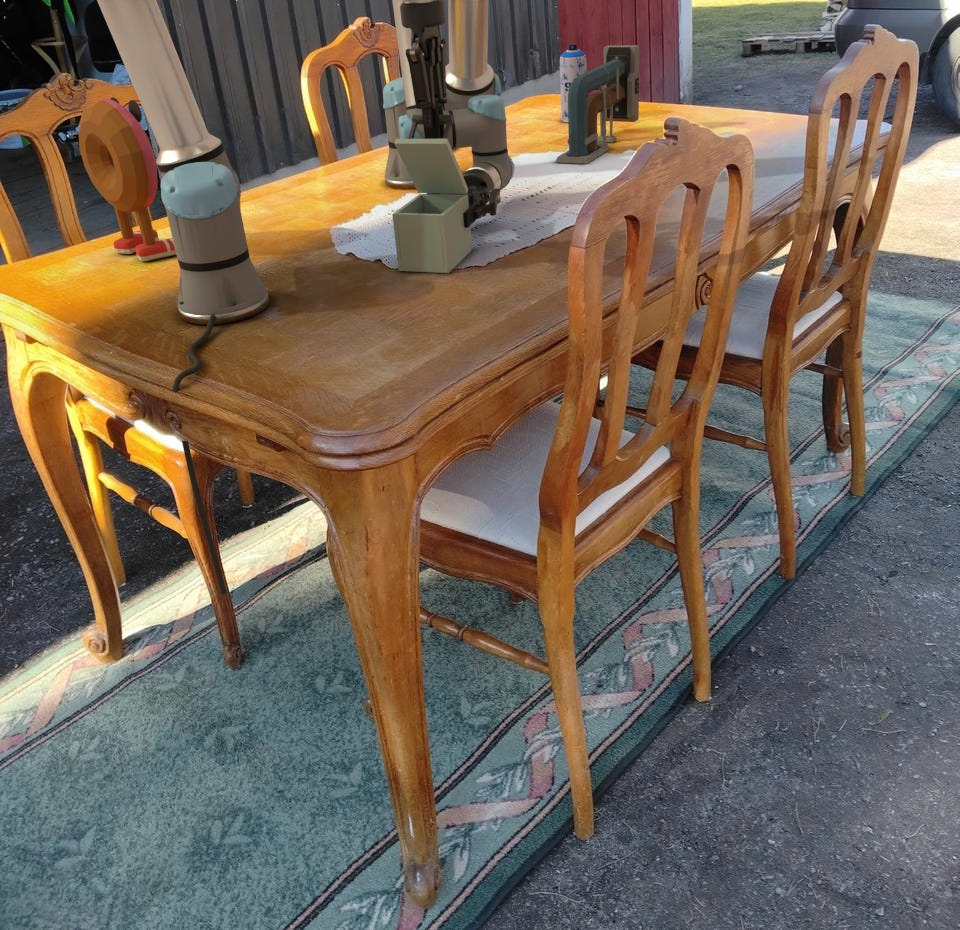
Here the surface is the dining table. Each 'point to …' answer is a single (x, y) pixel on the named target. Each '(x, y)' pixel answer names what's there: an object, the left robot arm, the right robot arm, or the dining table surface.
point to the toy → (123, 172)
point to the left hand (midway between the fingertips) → (435, 144)
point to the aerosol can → (570, 74)
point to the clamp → (602, 103)
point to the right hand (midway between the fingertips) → (439, 219)
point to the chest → (432, 233)
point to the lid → (432, 160)
